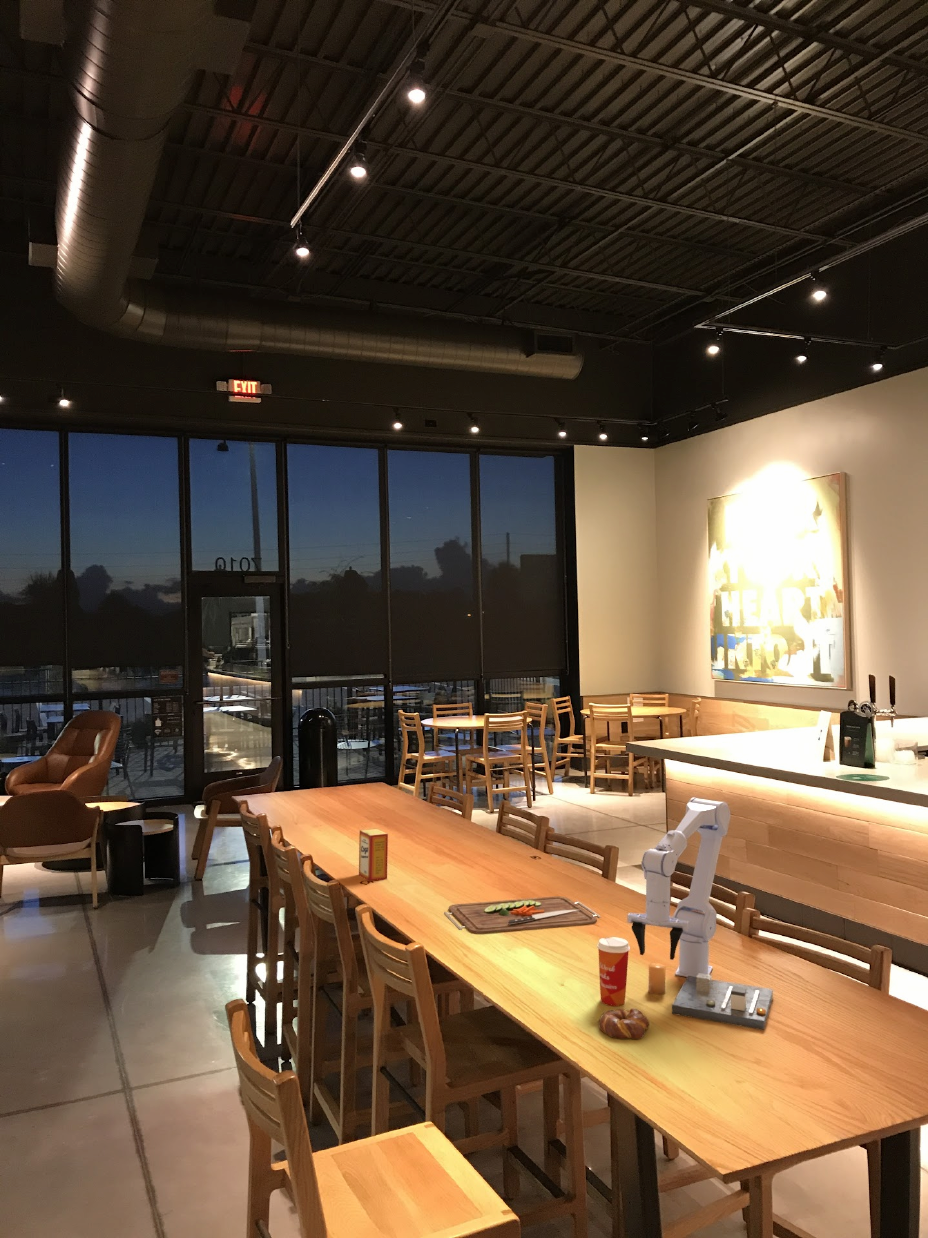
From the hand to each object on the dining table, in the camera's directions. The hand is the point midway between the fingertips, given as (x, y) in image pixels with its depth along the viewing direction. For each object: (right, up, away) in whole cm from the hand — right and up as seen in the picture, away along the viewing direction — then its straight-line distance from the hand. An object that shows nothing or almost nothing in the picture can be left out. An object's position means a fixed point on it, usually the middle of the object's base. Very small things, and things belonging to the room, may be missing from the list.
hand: (657, 956), depth 225 cm
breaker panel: (+14, -9, -8) cm, 18 cm away
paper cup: (-12, -8, -7) cm, 16 cm away
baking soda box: (-79, -9, +100) cm, 127 cm away
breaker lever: (+15, -6, -14) cm, 22 cm away
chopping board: (-29, -10, +58) cm, 66 cm away
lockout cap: (0, -8, 0) cm, 8 cm away
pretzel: (-12, -9, -22) cm, 26 cm away
